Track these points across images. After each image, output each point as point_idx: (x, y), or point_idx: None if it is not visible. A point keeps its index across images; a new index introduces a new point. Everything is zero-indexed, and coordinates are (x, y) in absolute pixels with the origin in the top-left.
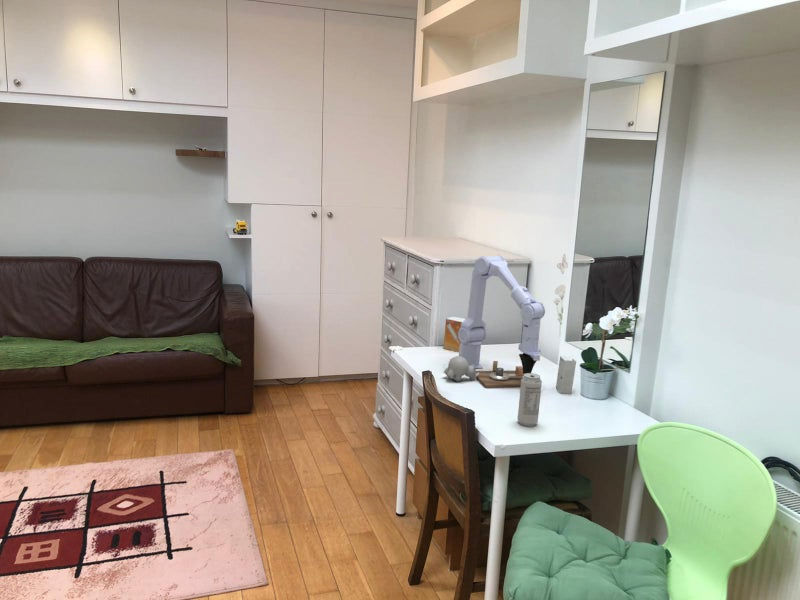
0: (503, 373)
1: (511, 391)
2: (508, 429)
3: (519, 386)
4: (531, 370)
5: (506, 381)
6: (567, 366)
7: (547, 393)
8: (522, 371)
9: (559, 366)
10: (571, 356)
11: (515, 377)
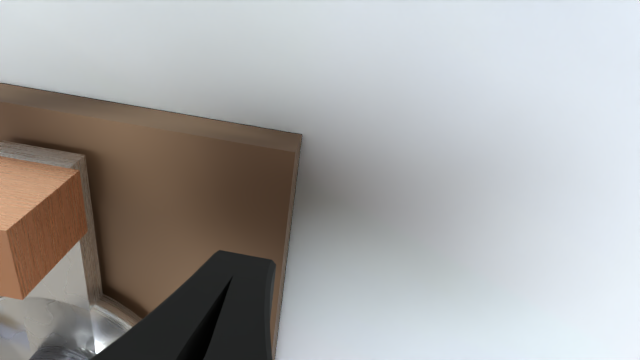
0: (4, 317)
1: (367, 357)
2: None
3: (285, 264)
4: (268, 318)
5: None
6: None
7: (552, 52)
8: (40, 224)
9: None
10: None
11: (90, 241)
